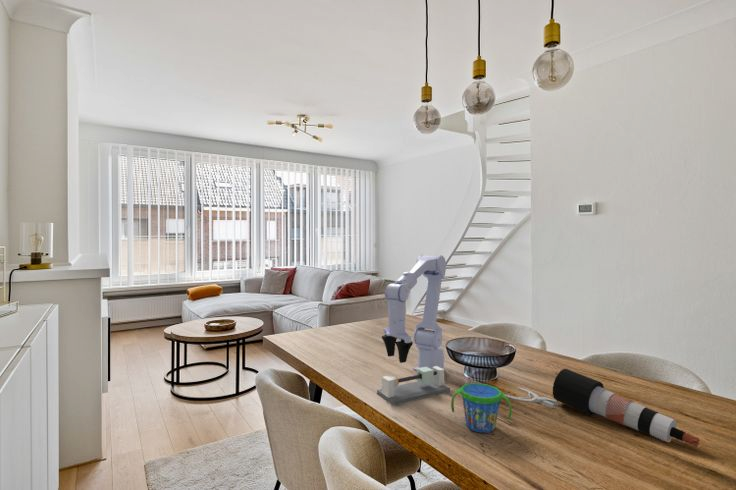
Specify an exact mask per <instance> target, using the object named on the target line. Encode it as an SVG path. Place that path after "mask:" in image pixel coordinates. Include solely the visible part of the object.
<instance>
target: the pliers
mask: <svg viewBox="0 0 736 490" xmlns="http://www.w3.org/2000/svg"><path fill="white" fill-rule="evenodd" d="M517 389H518V390H520V391H522V392H525V393H527V394H528V396H529V397H526V396H525V397H524V396H520V397H518V396H517V397H516V396H512V395H508V394H505V393H504V394H505V395H506V396H507V397H508V399H511V400H515V401H519V402H520V401H521V402H525V403H526V402H527V403H535V404H536V403H539V404H541V405H542V406H545V407H548V408H551V409H554V408H555V406H556V407H558V406H559V401H557V400H555V399H553V398H549V397H544V396H539V395H538V394H537V393H535V392H533V391H531V390H528V389H526V388H522V387H520V386H517Z"/></svg>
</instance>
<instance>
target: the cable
mask: <svg viewBox="0 0 736 490" xmlns="http://www.w3.org/2000/svg"><path fill="white" fill-rule="evenodd" d="M552 385H553V386H552V396H553V398H554V399H553V400H556V401H558V403H559V402H560V403H562V404H564V405H567V406H568V407H570V408H572V409H574V410H577V411H578V412H581V413H584V414H585V415H588V416H590V417H592V416H594V415H595V413H596V415H598V416H599V415H600V416H602V417H603V418H606V419H607V420H610V421H613V422H616V423H618V424H620V425H622V426H625V427H629V428H632V429H634V430H636V431H638V432H642V433H643V434H646V435H648V436H651V435H652V436H651V437H653V436H654V438H655V437H656V438H655V439H658V438H659V439H658V440H660V439H661V440H660V441H662V440H664V441H666V442H667V441H669V440H670V439H672V438H673V439H676V440H679V441H681V442H685V443H686V444H689V445H692V446H693V447H696V448H698V446H699V442H700V438H699V437H696V436H695V435H692V434H690V433H686V431H683V430H681V429H680V428H679V429H678V428H677V421H676V419H673V418H671V417H669V416H667V415H664V414H662V413H660V412H658V411H655V410H653V409H650V408H648V407H647V406H644V405H641V404H639V403H636V402H634V401H635V400H632V399H629V398H627V397H624V396H622V395H620V394H617V393H615V392H612V391H610V390H608V389H606V388H605V387H604V384H603V382H602V381H599V380H597V379H595V378H591V377H588V376H587V375H584V374H581V373H579V372H577V371H573V370H570V369H569V368H568V369H567V368H563V369H561V370H560V371H559V372H558V373H557V375H556V376H555V379H554V382H553V384H552ZM593 414H594V415H593ZM591 415H592V416H591ZM673 439H672V440H673ZM664 441H663V442H664ZM666 442H665V443H666Z"/></svg>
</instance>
